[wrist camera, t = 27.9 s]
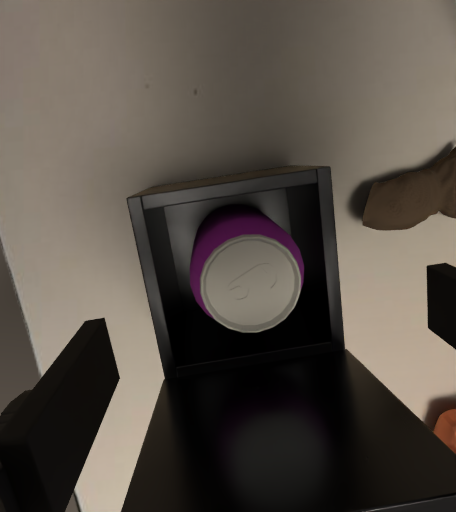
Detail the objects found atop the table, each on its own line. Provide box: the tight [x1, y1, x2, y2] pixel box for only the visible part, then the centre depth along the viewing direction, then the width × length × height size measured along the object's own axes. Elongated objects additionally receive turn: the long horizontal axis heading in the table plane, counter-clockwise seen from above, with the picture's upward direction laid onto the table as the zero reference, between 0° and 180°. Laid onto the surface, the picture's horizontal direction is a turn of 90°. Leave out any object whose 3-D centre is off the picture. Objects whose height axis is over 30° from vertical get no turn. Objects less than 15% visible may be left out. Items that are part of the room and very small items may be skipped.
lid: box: [121, 349, 456, 512], centre depth 19 cm, size 14×13×8 cm
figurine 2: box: [362, 147, 456, 230], centre depth 33 cm, size 6×4×12 cm
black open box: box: [127, 166, 345, 379], centre depth 30 cm, size 13×13×11 cm
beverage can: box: [190, 205, 304, 333], centre depth 29 cm, size 8×8×12 cm
